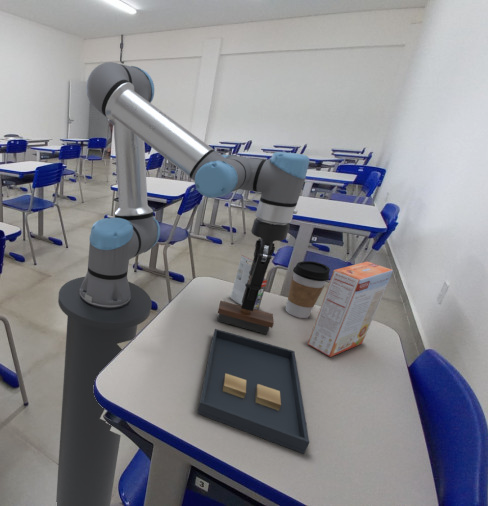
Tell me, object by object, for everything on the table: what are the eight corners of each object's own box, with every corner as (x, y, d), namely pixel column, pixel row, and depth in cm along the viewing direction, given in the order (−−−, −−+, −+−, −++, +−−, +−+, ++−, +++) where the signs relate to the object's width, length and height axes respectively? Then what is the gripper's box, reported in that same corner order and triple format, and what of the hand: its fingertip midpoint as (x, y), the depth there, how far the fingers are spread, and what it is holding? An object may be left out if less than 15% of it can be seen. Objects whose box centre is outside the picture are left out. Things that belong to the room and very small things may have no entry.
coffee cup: (321, 319, 100) (339, 271, 94) (297, 322, 98) (314, 273, 92) (296, 303, 107) (312, 258, 101) (273, 306, 105) (288, 260, 99)
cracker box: (337, 331, 94) (366, 260, 86) (362, 344, 89) (396, 270, 81) (304, 343, 88) (333, 267, 80) (330, 358, 83) (362, 279, 75)
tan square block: (223, 378, 74) (225, 373, 73) (244, 385, 72) (246, 380, 72) (222, 391, 71) (223, 385, 70) (244, 398, 69) (245, 392, 68)
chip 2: (255, 389, 71) (257, 383, 71) (277, 396, 70) (279, 391, 69) (255, 402, 68) (257, 396, 68) (278, 410, 67) (281, 404, 66)
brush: (217, 312, 99) (228, 267, 94) (268, 326, 94) (284, 279, 89) (215, 321, 95) (227, 274, 90) (269, 336, 90) (285, 287, 85)
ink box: (238, 296, 110) (250, 253, 104) (259, 309, 103) (273, 264, 97) (229, 298, 108) (240, 254, 103) (250, 311, 101) (263, 265, 96)
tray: (212, 337, 89) (214, 328, 88) (290, 360, 82) (294, 351, 81) (197, 413, 66) (200, 402, 65) (304, 454, 59) (309, 442, 58)
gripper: (293, 232, 75) (263, 325, 85) (288, 215, 88) (262, 297, 98) (254, 226, 78) (229, 316, 87) (255, 210, 91) (233, 290, 101)
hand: (247, 306), depth 92 cm, fingers closed on brush, 3 cm apart
